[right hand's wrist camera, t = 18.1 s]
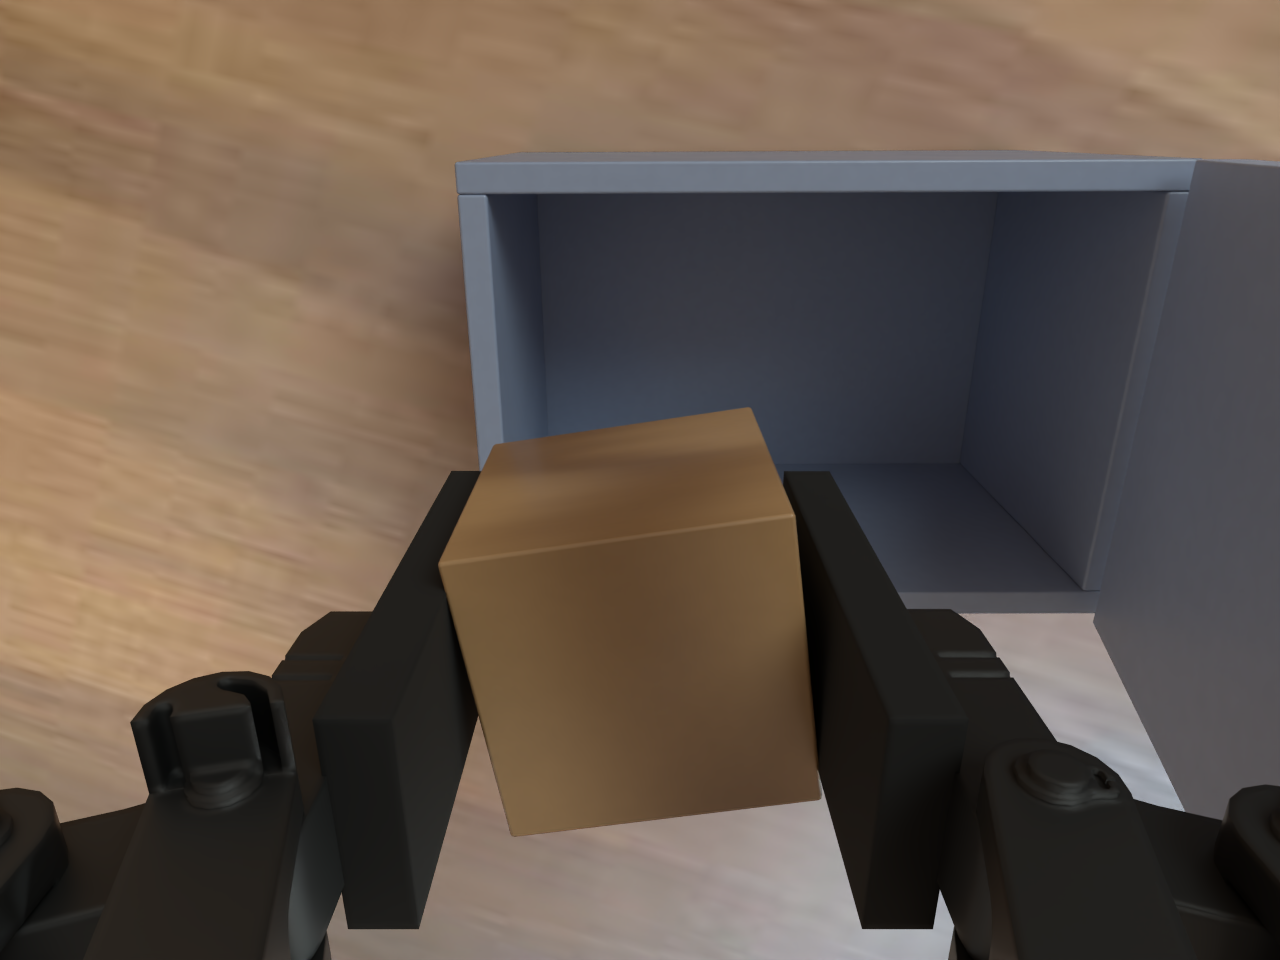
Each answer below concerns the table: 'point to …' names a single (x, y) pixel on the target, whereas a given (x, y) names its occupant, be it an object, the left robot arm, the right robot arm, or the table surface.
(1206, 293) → the lid
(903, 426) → the chest
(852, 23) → the table surface
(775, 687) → the block
